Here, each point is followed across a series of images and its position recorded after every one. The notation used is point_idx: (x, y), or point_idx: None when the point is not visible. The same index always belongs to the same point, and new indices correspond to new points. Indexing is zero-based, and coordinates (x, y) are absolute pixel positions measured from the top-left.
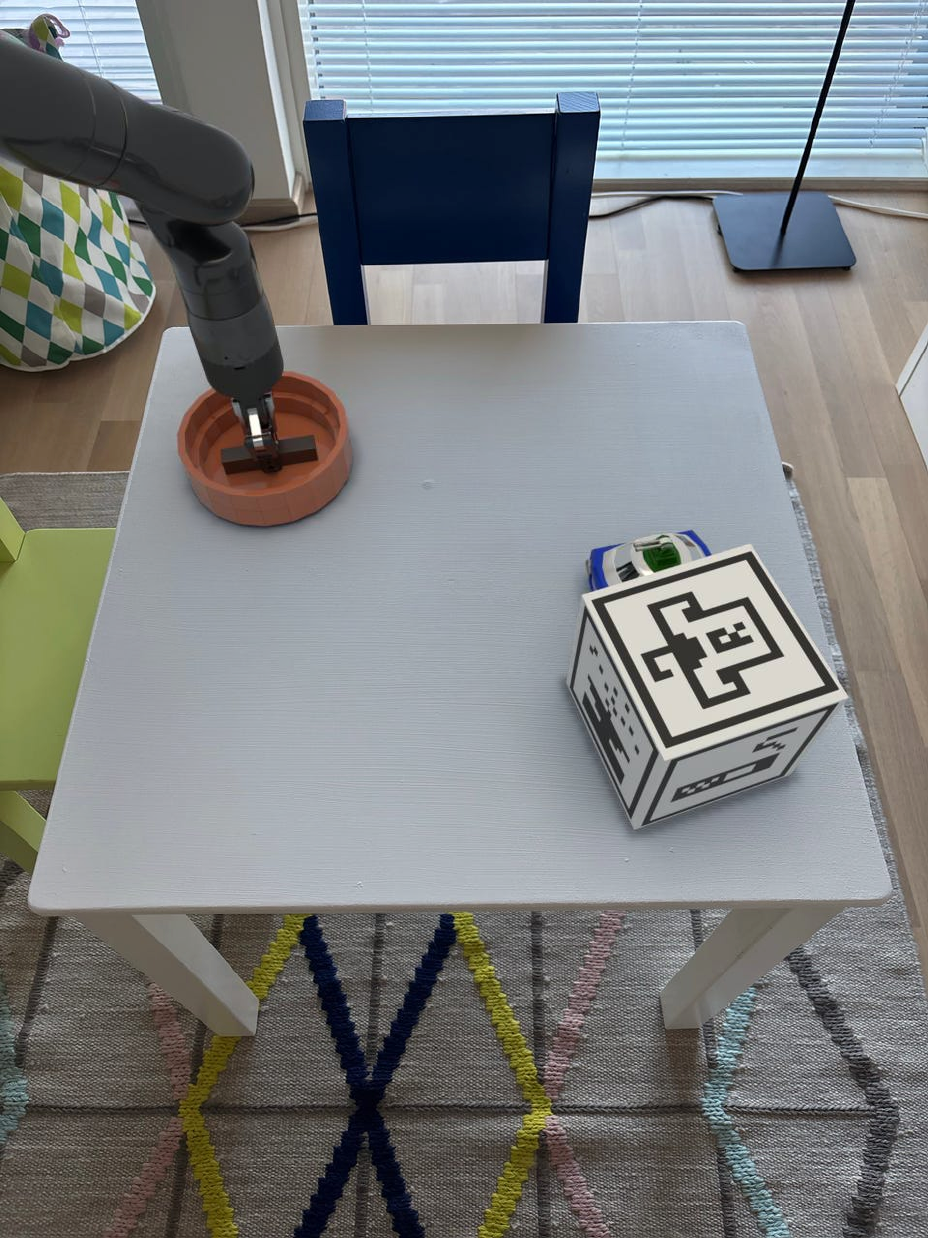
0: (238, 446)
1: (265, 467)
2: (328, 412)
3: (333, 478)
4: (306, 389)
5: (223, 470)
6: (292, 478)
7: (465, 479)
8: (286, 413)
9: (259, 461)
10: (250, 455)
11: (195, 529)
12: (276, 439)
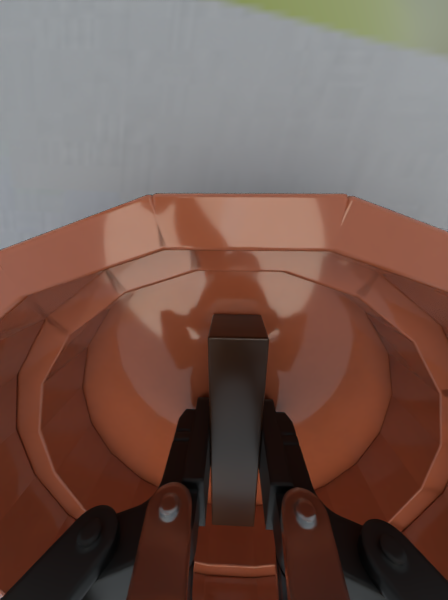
0: (263, 387)
1: (176, 431)
2: None
3: None
4: None
5: (230, 308)
6: None
7: None
8: (365, 448)
9: (192, 427)
10: (218, 412)
11: (56, 216)
12: (259, 470)
